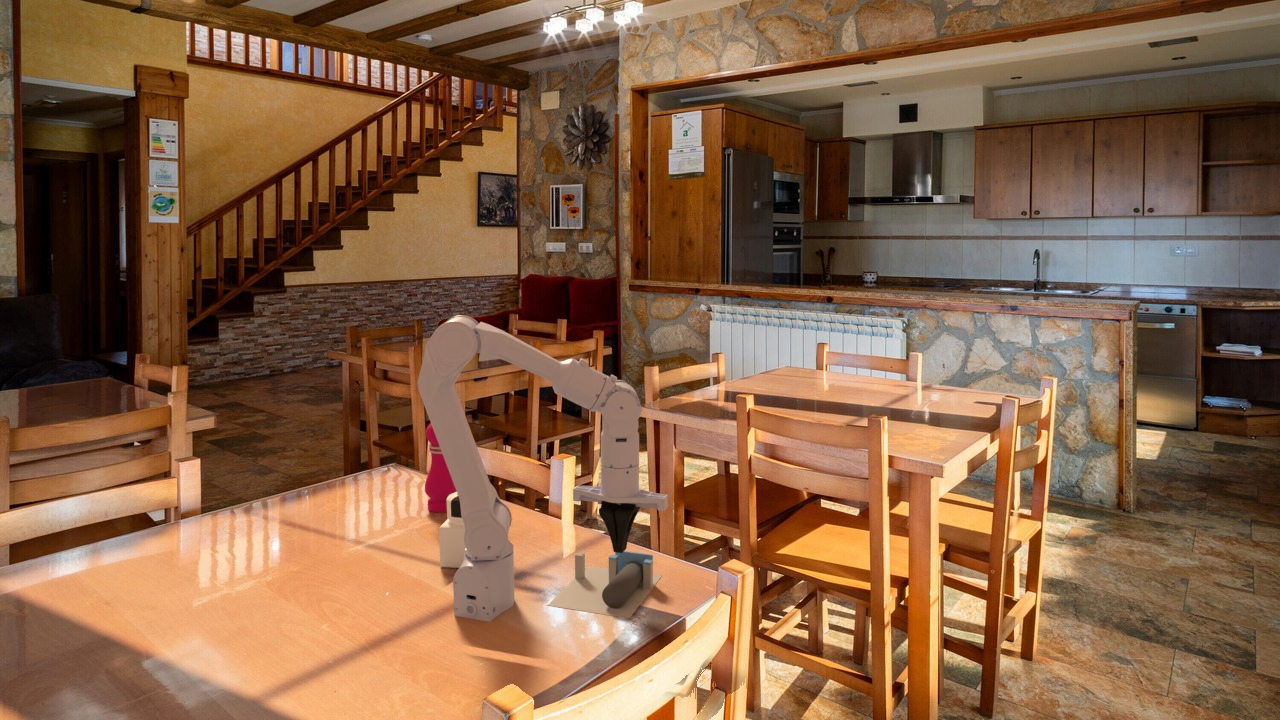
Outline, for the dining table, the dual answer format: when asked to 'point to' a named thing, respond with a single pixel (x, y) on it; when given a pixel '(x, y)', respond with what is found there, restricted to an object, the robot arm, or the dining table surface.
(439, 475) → the pepper mill
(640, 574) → the dark brown cylinder post
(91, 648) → the dining table surface
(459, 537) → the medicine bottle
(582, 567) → the base plate with posts
